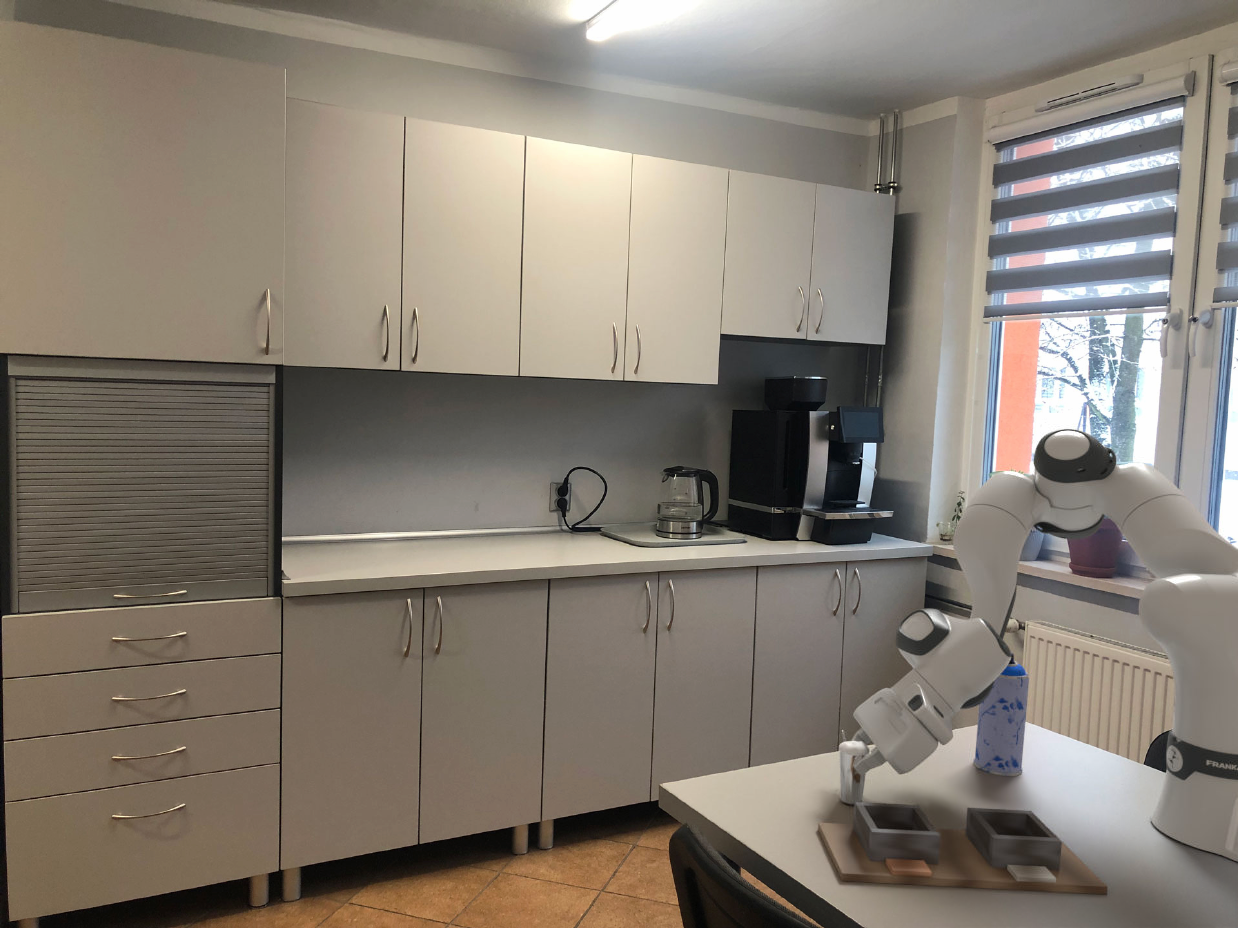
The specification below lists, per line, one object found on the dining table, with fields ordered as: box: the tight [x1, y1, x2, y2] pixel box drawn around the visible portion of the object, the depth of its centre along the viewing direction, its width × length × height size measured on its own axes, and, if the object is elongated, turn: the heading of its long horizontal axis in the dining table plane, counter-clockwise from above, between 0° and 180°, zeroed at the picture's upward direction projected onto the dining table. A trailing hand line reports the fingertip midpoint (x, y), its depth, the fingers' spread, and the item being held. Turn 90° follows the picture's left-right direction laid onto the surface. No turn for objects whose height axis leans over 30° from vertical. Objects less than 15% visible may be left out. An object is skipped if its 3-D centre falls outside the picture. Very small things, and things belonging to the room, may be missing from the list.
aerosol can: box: [973, 652, 1030, 777], centre depth 156 cm, size 8×8×20 cm
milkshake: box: [838, 729, 871, 806], centre depth 140 cm, size 5×5×10 cm
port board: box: [817, 801, 1108, 895], centre depth 123 cm, size 34×14×5 cm, turn 90°
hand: (851, 762), depth 140 cm, fingers closed on milkshake, 4 cm apart
